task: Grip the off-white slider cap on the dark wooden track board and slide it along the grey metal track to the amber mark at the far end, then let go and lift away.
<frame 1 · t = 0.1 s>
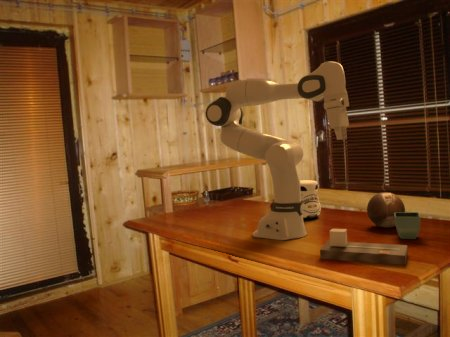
hand: (341, 139, 158), 39 cm above the table, tool pointing down, fingers open, 8 cm apart
milk container: (303, 218, 204), on the table
track board: (363, 256, 136), on the table
wooden sphere: (386, 227, 173), on the table
flower pot: (407, 238, 155), on the table
fader: (338, 237, 139), point 6 cm above the table, slide at 0.0 cm
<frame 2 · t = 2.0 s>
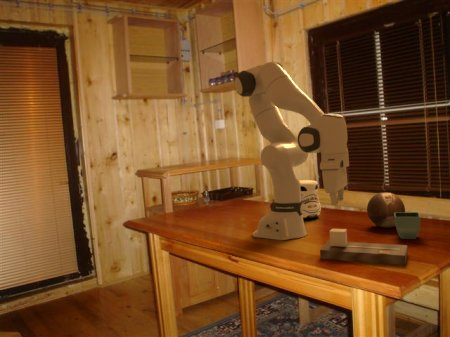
hand: (337, 202, 138), 18 cm above the table, tool pointing down, fingers open, 8 cm apart
nothing on the table moved.
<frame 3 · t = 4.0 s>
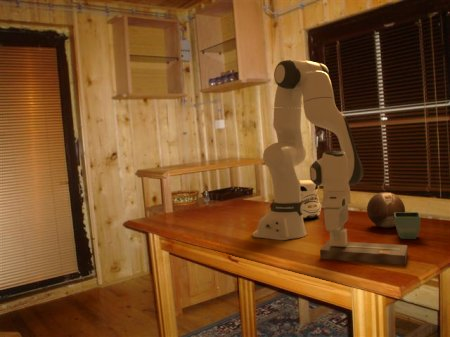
hand: (338, 238, 139), 6 cm above the table, tool pointing down, fingers closed on fader, 4 cm apart
fader: (338, 237, 139), point 6 cm above the table, slide at 0.0 cm, touching gripper
everything else where it was.
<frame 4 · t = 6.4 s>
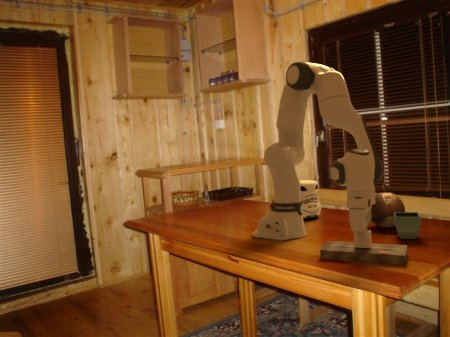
hand: (362, 239, 135), 6 cm above the table, tool pointing down, fingers closed on fader, 4 cm apart
fader: (362, 238, 135), point 6 cm above the table, slide at 7.8 cm, touching gripper
everything else where it was.
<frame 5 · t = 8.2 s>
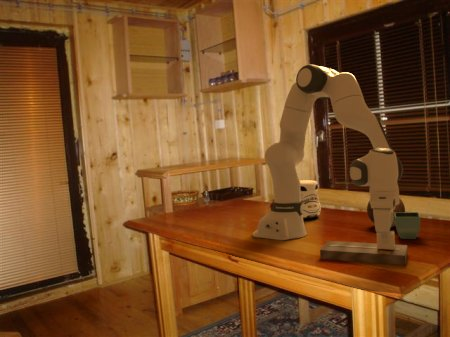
hand: (385, 240, 132), 6 cm above the table, tool pointing down, fingers closed on fader, 4 cm apart
fader: (385, 239, 132), point 6 cm above the table, slide at 15.0 cm, touching gripper
everything else where it was.
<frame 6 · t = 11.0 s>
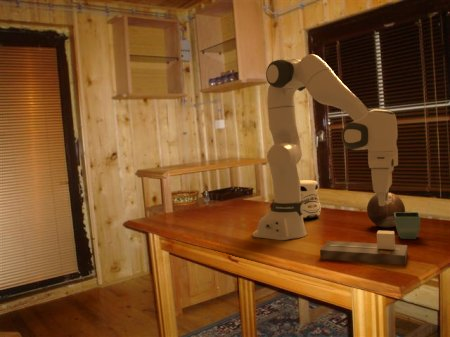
hand: (383, 203, 131), 18 cm above the table, tool pointing down, fingers open, 8 cm apart
fader: (385, 239, 132), point 6 cm above the table, slide at 15.0 cm
everything else where it was.
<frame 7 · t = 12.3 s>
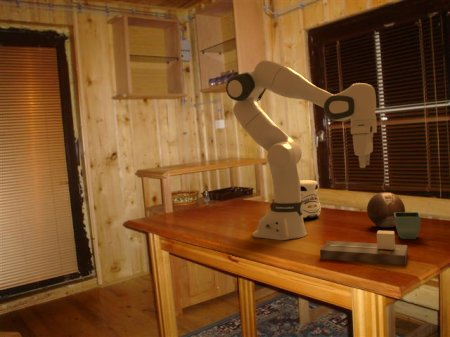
hand: (364, 166, 149), 29 cm above the table, tool pointing down, fingers open, 8 cm apart
nothing on the table moved.
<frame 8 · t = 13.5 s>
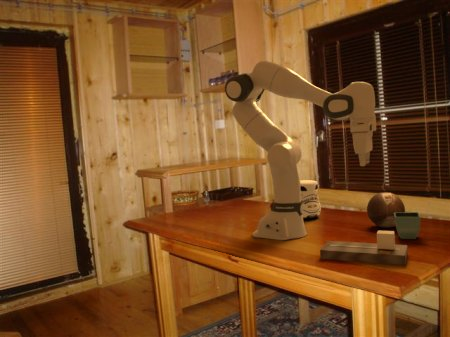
hand: (364, 164, 149), 29 cm above the table, tool pointing down, fingers open, 8 cm apart
nothing on the table moved.
at the end: fader slide at 15.0 cm; the gripper is holding nothing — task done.
